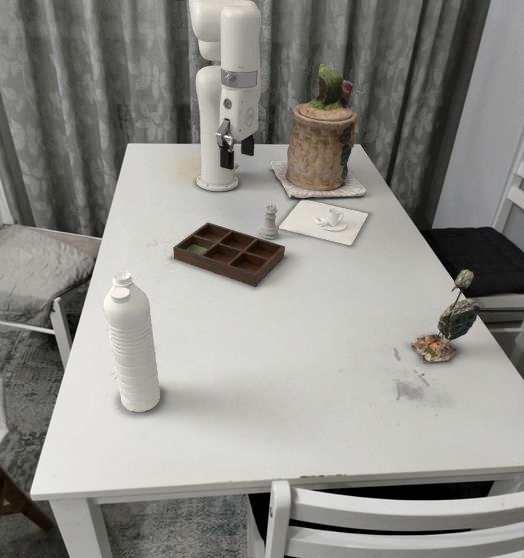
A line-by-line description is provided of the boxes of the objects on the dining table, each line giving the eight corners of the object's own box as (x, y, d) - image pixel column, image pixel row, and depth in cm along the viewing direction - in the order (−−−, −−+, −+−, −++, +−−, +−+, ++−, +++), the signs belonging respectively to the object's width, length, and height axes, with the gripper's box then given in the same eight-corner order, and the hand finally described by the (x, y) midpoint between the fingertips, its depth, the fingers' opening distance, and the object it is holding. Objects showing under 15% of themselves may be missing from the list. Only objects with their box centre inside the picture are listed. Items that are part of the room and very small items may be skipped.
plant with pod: (473, 360, 97) (513, 273, 84) (419, 365, 95) (452, 277, 82) (454, 334, 103) (488, 248, 90) (403, 338, 101) (430, 251, 88)
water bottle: (122, 386, 87) (99, 262, 71) (160, 383, 88) (146, 261, 72) (119, 425, 81) (93, 299, 64) (160, 421, 82) (145, 296, 65)
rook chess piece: (280, 233, 131) (282, 204, 125) (274, 241, 128) (277, 212, 122) (263, 230, 132) (265, 201, 126) (258, 237, 129) (259, 208, 123)
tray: (207, 233, 129) (207, 222, 127) (284, 257, 122) (285, 246, 120) (173, 258, 119) (173, 247, 117) (255, 287, 112) (255, 275, 110)
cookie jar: (288, 200, 145) (300, 77, 124) (268, 168, 163) (275, 56, 142) (368, 196, 150) (391, 78, 129) (339, 165, 168) (356, 57, 147)
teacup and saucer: (310, 227, 134) (312, 213, 131) (319, 215, 140) (321, 201, 137) (342, 235, 132) (344, 220, 129) (349, 222, 138) (352, 208, 135)
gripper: (234, 90, 96) (233, 177, 107) (273, 73, 108) (268, 153, 119) (201, 84, 98) (203, 170, 110) (242, 67, 110) (240, 147, 122)
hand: (237, 161), depth 114 cm, fingers open, 9 cm apart
